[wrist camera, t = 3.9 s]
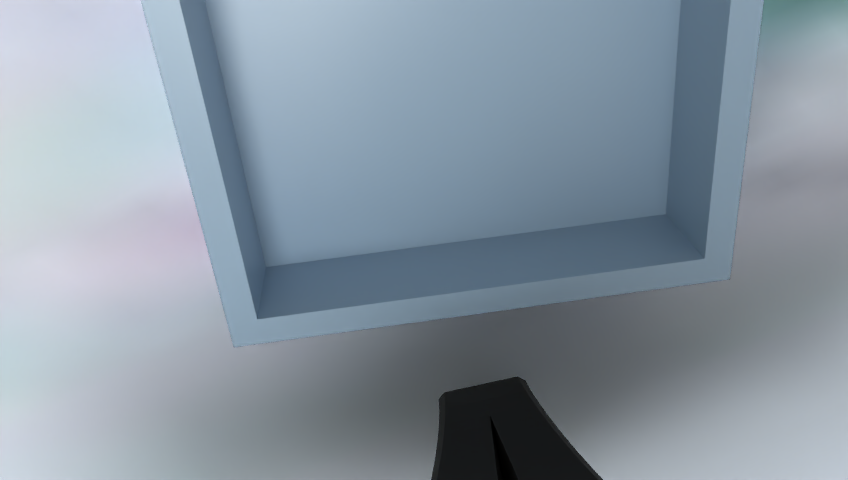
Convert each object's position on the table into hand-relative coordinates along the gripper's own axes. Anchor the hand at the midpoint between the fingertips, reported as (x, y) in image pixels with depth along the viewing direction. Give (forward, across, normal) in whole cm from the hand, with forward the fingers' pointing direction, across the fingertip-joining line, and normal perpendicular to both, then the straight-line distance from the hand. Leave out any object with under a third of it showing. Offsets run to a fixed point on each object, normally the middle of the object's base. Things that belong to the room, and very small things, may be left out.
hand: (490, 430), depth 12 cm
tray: (+1, -1, -7) cm, 7 cm away
